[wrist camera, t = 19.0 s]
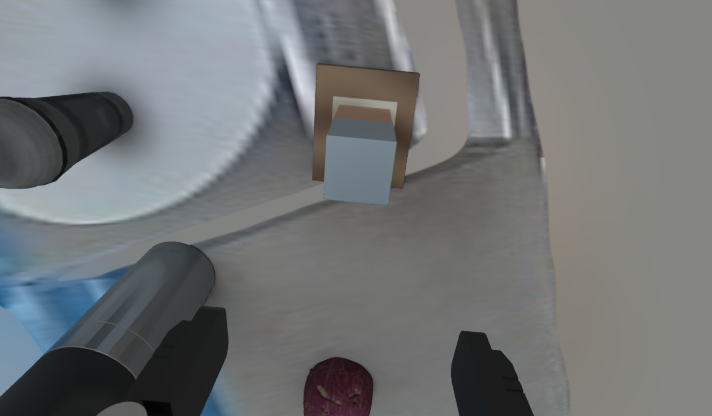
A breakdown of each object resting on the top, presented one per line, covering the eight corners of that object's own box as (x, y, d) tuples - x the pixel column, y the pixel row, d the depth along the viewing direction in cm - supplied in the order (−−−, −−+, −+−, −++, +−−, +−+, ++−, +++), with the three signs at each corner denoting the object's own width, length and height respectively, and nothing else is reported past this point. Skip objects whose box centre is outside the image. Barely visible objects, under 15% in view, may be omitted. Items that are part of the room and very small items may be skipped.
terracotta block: (383, 157, 39) (385, 177, 34) (336, 152, 39) (330, 172, 34) (389, 109, 37) (392, 122, 32) (339, 104, 37) (333, 117, 32)
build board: (401, 184, 42) (402, 189, 41) (313, 176, 42) (312, 180, 41) (418, 72, 37) (420, 74, 36) (318, 63, 37) (316, 64, 36)
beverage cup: (72, 128, 41) (-163, 206, 23) (82, 65, 38) (-180, 98, 20) (138, 157, 42) (-37, 253, 24) (152, 97, 39) (-36, 157, 21)
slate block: (385, 177, 34) (388, 205, 29) (331, 171, 34) (323, 199, 29) (392, 122, 32) (396, 142, 26) (334, 116, 32) (326, 135, 26)
